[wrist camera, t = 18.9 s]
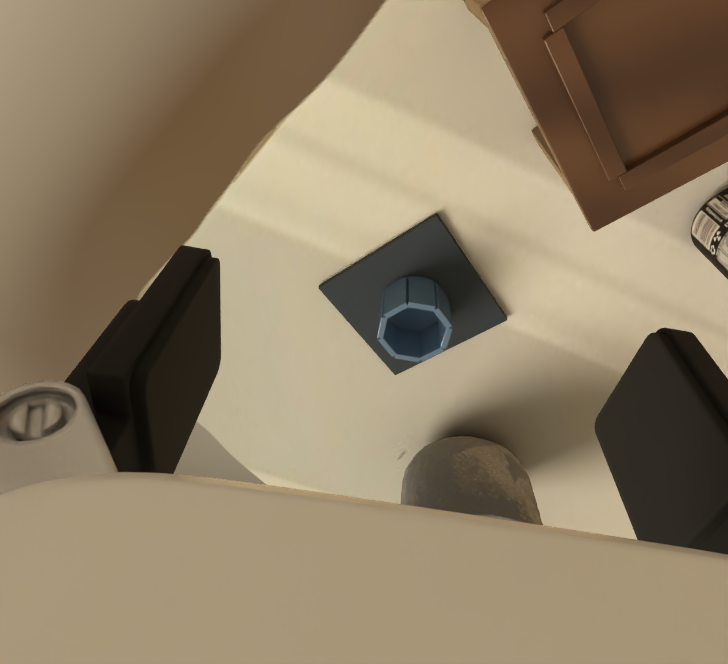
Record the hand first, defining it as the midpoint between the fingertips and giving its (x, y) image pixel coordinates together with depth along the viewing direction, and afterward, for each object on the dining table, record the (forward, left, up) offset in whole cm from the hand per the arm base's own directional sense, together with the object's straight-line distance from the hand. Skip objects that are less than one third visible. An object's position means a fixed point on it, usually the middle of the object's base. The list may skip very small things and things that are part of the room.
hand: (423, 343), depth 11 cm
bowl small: (+19, -12, -36) cm, 42 cm away
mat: (+19, -12, -36) cm, 42 cm away
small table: (+5, +12, -36) cm, 38 cm away
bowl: (+42, -20, -36) cm, 59 cm away
